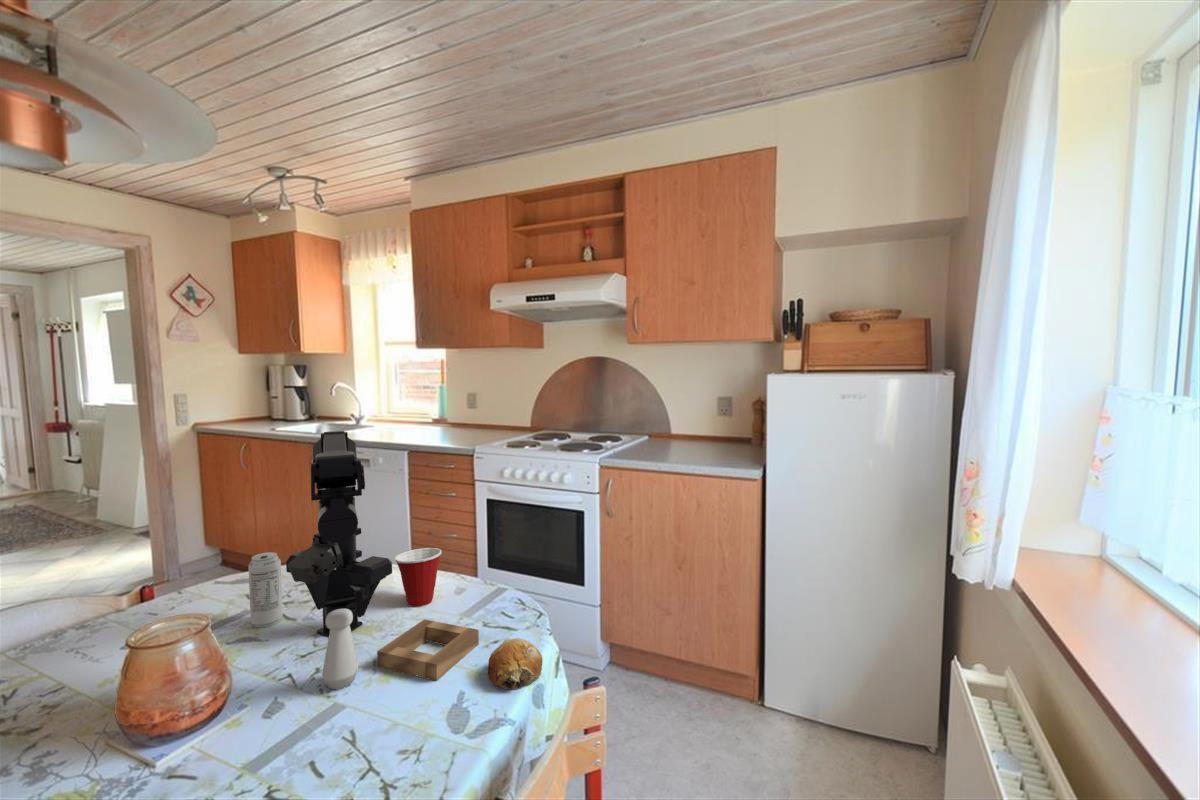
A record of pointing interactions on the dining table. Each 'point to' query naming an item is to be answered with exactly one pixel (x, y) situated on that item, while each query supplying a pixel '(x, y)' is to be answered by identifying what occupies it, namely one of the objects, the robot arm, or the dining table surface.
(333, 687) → the salt shaker
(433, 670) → the frame
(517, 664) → the bread roll
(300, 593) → the dining table surface
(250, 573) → the energy drink can
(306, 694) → the dining table surface
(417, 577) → the plastic cup
